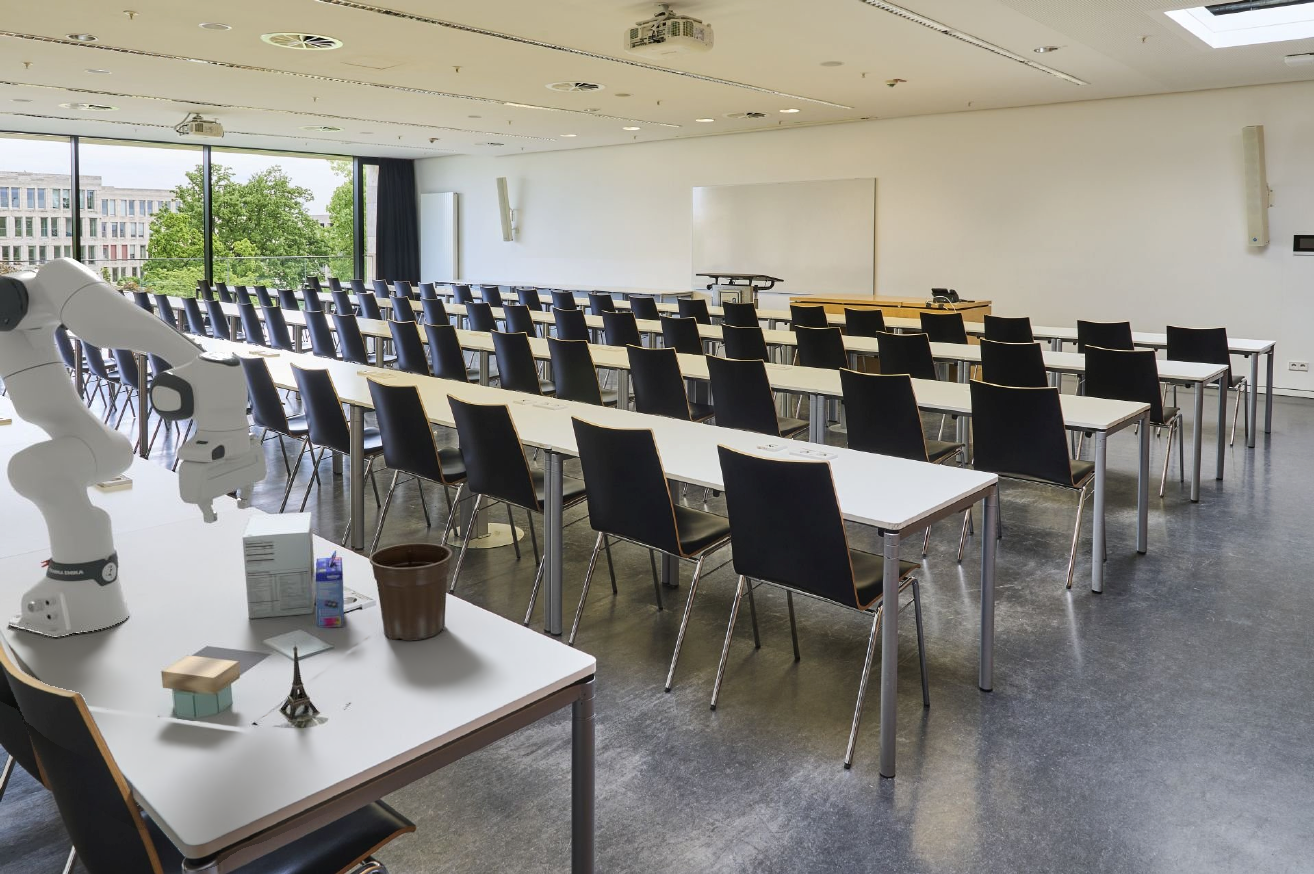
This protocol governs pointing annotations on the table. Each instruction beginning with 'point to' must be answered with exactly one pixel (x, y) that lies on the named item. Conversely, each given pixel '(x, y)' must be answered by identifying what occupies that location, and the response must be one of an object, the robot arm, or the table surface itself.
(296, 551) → the supplement box
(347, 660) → the table surface
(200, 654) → the mat
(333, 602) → the ink cartridge box
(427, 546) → the plant pot
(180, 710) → the bowl
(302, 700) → the eiffel tower figurine
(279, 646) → the hard drive
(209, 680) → the lid
